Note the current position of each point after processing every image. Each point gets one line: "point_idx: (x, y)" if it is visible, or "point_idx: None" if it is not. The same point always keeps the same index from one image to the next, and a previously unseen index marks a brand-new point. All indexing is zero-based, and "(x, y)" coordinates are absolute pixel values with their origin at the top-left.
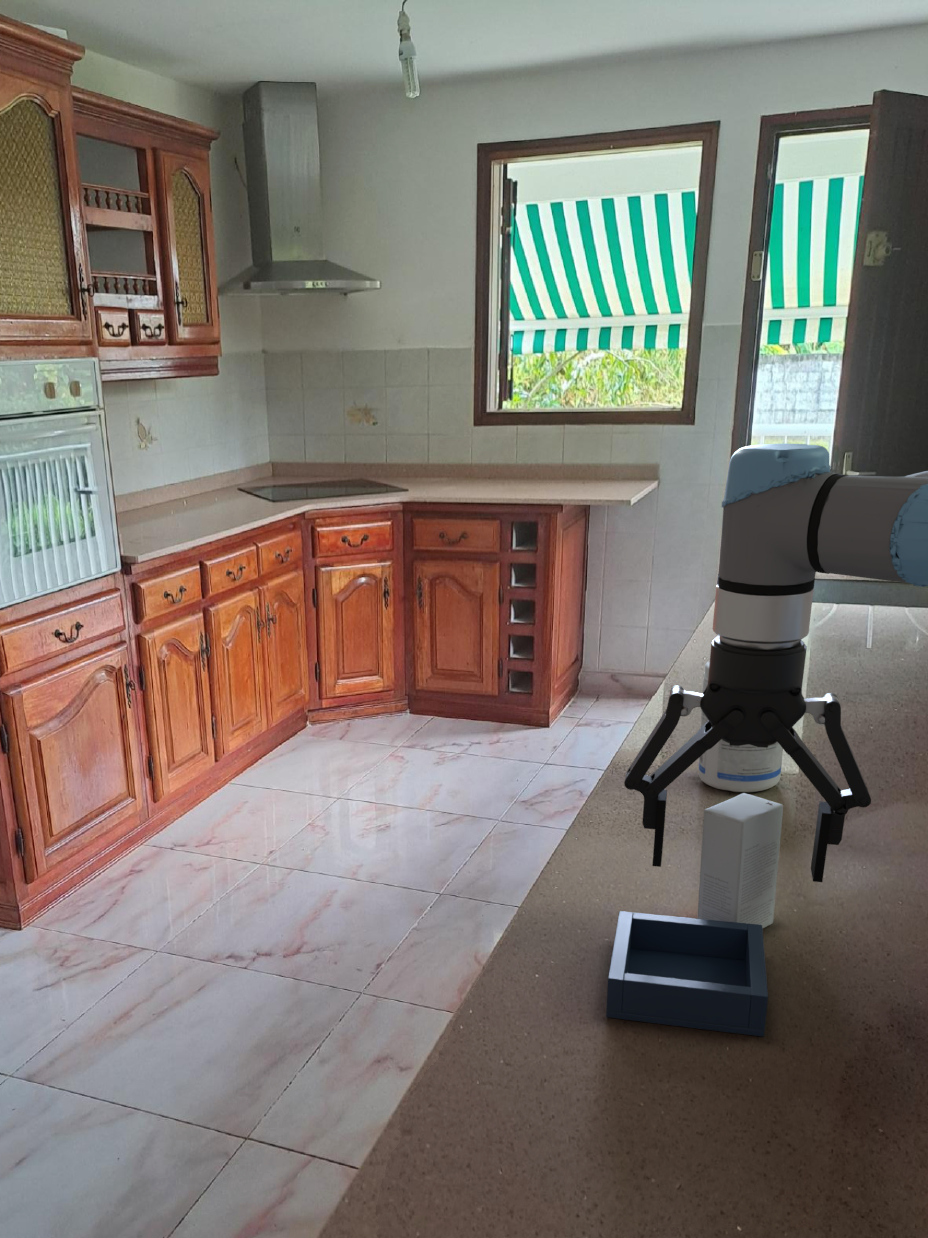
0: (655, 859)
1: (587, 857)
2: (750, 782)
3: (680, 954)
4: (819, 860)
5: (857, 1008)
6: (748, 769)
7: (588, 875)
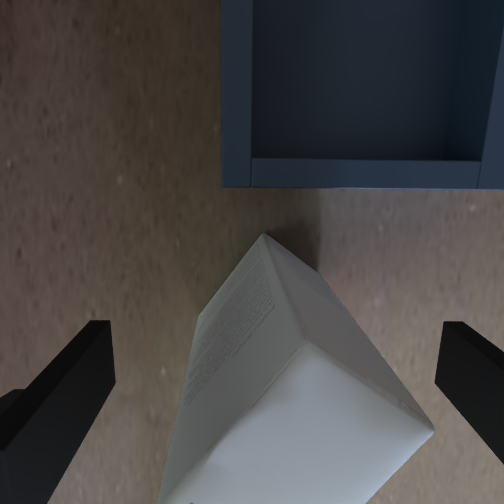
0: (467, 328)
1: (480, 479)
2: None
3: (358, 157)
4: (79, 346)
5: (65, 48)
6: None
7: None
